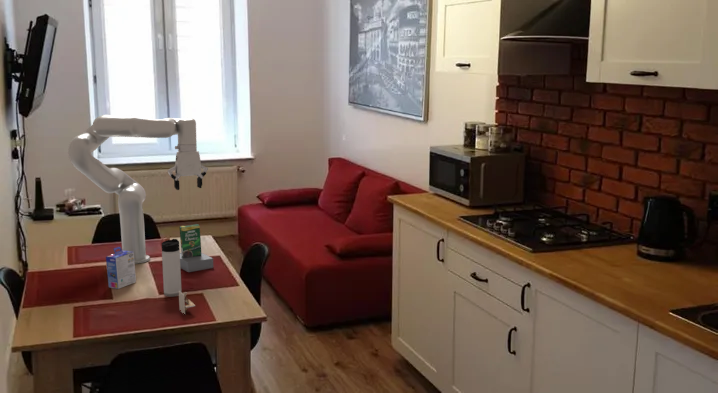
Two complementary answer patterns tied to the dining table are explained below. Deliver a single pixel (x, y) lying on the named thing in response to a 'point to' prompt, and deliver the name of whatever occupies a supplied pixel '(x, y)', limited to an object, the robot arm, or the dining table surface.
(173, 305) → the dining table surface
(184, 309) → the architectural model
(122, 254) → the ink cartridge box
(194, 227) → the coffee box
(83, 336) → the dining table surface
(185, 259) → the base block
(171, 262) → the travel mug
